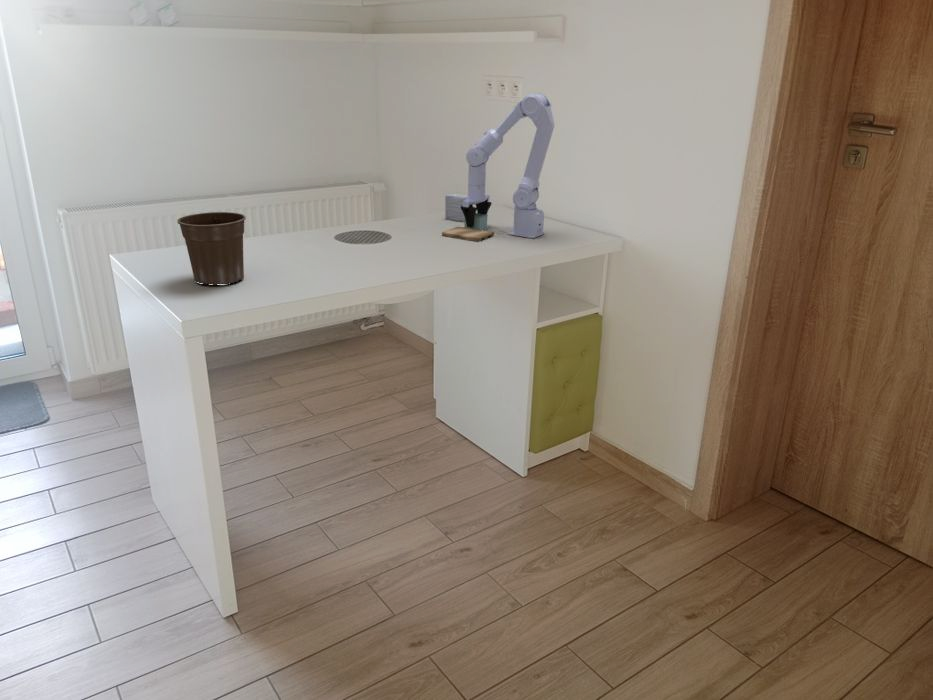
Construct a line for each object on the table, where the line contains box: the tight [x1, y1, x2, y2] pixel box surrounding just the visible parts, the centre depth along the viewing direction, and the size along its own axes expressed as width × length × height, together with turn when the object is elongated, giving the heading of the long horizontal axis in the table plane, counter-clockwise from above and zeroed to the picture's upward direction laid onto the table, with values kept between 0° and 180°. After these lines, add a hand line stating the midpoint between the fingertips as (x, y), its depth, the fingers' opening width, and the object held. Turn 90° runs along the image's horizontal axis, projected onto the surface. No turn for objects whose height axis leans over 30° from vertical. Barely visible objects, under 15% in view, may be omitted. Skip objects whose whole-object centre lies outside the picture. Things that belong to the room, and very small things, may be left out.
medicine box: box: [444, 193, 468, 223], centre depth 254 cm, size 8×4×9 cm, turn 58°
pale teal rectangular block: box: [463, 212, 489, 231], centre depth 241 cm, size 6×5×5 cm
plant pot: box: [177, 211, 247, 285], centre depth 180 cm, size 16×16×16 cm
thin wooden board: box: [441, 226, 495, 242], centre depth 233 cm, size 14×10×1 cm
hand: (475, 225), depth 242 cm, fingers open, 7 cm apart
